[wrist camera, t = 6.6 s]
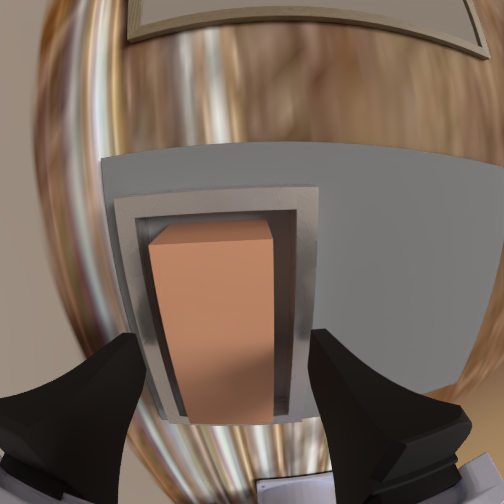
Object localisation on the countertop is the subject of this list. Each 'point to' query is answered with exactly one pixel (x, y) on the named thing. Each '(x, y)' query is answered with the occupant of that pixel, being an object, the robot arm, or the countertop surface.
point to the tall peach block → (219, 317)
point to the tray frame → (208, 201)
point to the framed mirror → (317, 17)
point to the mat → (353, 245)
